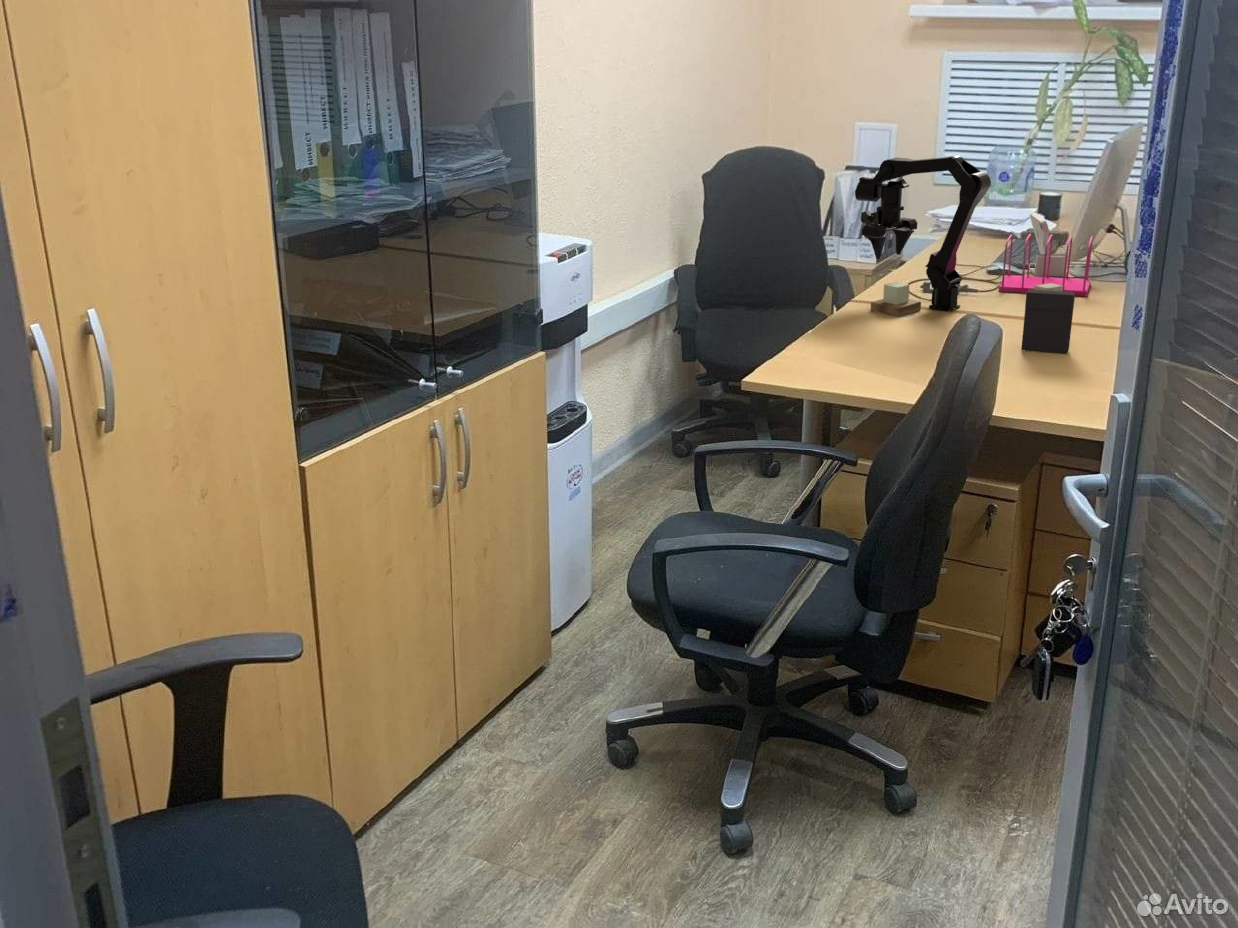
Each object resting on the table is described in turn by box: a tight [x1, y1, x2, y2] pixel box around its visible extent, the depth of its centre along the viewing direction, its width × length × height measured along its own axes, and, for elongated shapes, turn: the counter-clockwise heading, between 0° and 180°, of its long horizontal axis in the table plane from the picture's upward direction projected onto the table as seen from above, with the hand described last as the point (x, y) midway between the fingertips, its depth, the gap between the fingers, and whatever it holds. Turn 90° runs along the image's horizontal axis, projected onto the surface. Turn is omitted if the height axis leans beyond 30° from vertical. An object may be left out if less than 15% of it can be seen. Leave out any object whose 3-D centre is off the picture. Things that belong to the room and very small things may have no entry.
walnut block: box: [870, 299, 922, 317], centre depth 330 cm, size 10×10×3 cm
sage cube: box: [883, 281, 910, 305], centre depth 329 cm, size 5×5×5 cm
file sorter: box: [998, 233, 1094, 297], centre depth 347 cm, size 17×25×16 cm
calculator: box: [1021, 290, 1076, 355], centre depth 284 cm, size 11×4×15 cm, turn 65°
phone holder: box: [1029, 212, 1069, 277], centre depth 369 cm, size 17×10×18 cm, turn 174°
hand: (888, 256), depth 338 cm, fingers open, 9 cm apart
